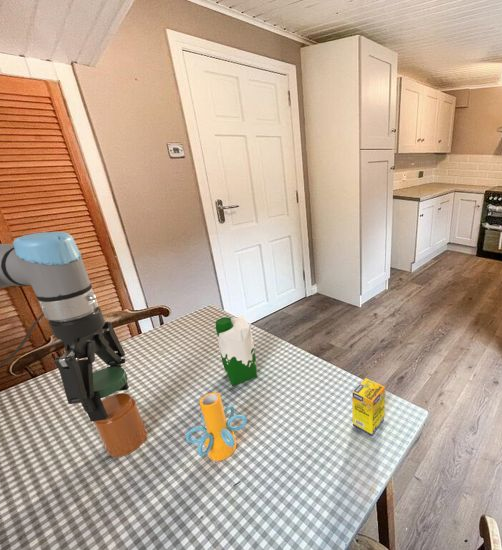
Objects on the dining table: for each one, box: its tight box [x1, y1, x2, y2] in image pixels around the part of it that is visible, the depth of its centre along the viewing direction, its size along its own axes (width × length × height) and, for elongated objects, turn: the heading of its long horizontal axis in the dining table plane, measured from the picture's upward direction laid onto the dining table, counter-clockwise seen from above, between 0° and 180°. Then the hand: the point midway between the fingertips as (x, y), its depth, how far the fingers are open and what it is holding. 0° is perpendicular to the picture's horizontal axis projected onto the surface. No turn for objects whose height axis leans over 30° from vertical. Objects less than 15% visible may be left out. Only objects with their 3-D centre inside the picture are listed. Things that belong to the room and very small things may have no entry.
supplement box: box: [351, 378, 386, 437], centre depth 74 cm, size 6×6×11 cm
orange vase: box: [185, 392, 248, 462], centre depth 67 cm, size 12×10×15 cm
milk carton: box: [214, 315, 258, 387], centre depth 89 cm, size 9×9×20 cm
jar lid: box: [93, 366, 128, 400], centre depth 65 cm, size 8×8×2 cm
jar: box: [92, 392, 148, 458], centre depth 69 cm, size 8×8×12 cm
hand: (111, 403), depth 67 cm, fingers closed on jar lid, 8 cm apart
